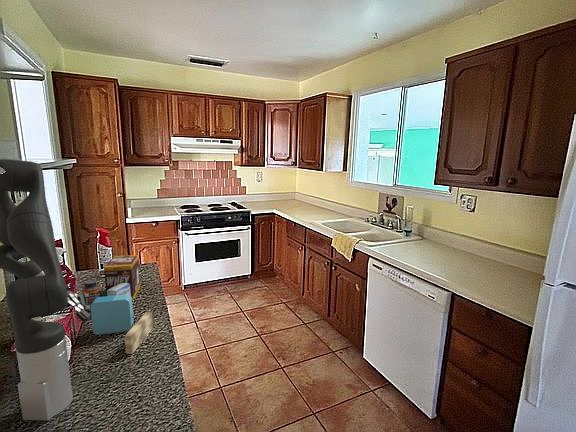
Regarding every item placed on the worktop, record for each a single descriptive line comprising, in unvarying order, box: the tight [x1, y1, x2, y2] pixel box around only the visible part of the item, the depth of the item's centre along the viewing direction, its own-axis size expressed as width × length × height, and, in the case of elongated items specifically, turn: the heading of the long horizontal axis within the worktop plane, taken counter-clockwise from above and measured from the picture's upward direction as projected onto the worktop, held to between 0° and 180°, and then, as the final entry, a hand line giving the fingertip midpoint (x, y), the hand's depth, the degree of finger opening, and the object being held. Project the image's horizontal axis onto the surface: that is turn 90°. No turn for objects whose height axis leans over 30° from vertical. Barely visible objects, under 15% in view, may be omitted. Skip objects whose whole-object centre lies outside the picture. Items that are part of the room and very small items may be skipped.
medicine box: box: [107, 283, 131, 296], centre depth 128 cm, size 8×4×9 cm, turn 169°
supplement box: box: [103, 254, 141, 301], centre depth 139 cm, size 10×15×16 cm
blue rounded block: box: [90, 294, 134, 336], centre depth 111 cm, size 12×4×12 cm, turn 106°
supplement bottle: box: [81, 279, 101, 312], centre depth 126 cm, size 6×6×11 cm
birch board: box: [124, 310, 155, 355], centre depth 106 cm, size 16×2×6 cm, turn 0°
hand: (87, 319), depth 111 cm, fingers closed
